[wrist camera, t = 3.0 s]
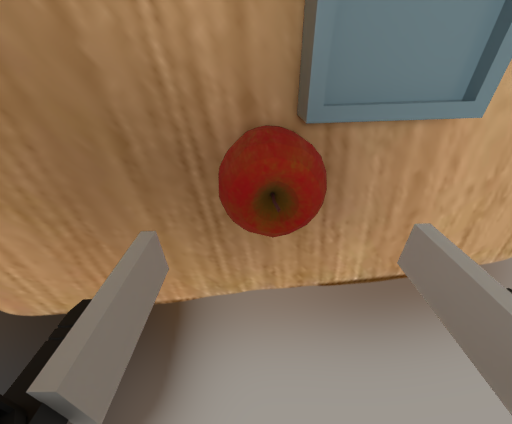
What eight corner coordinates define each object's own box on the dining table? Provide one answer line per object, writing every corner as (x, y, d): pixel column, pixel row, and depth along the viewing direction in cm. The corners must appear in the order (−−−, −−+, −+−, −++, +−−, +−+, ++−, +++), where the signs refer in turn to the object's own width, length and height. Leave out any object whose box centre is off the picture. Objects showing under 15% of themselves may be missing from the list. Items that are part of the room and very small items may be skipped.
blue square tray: (297, 114, 21) (306, 123, 17) (314, -135, 13) (337, -209, 10) (443, 109, 21) (481, 117, 17) (545, -143, 13) (651, -221, 10)
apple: (240, 199, 26) (234, 269, 17) (212, 128, 21) (183, 171, 12) (312, 180, 25) (347, 243, 16) (298, 100, 20) (335, 124, 11)
